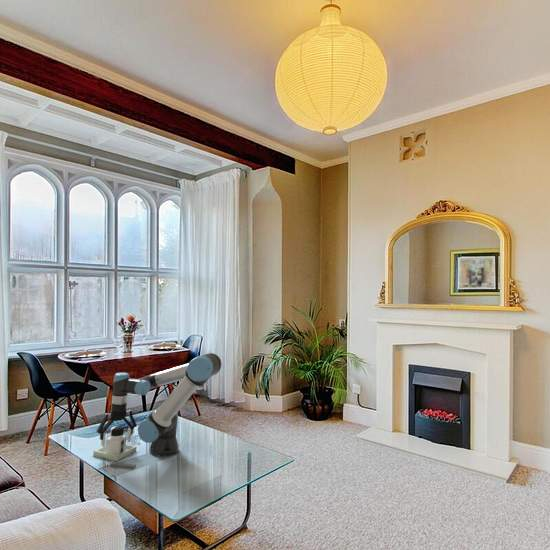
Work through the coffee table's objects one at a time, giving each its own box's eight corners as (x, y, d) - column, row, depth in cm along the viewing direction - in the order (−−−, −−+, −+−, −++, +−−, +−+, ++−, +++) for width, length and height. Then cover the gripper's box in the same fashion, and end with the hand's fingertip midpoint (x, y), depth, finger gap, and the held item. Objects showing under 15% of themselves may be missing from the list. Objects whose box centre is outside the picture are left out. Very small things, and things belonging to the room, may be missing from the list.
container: (125, 450, 219) (127, 425, 219) (118, 455, 211) (120, 430, 212) (111, 448, 220) (114, 424, 220) (104, 454, 212) (106, 429, 213)
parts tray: (136, 451, 220) (136, 446, 220) (116, 461, 206) (117, 456, 206) (113, 445, 225) (113, 441, 225) (93, 455, 211) (93, 450, 211)
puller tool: (135, 467, 201) (136, 464, 201) (133, 469, 199) (133, 466, 199) (112, 464, 202) (112, 461, 202) (109, 466, 200) (110, 463, 200)
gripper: (139, 398, 227) (136, 436, 227) (92, 403, 211) (88, 445, 210) (144, 401, 222) (141, 441, 221) (97, 407, 205) (93, 450, 205)
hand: (115, 443), depth 216 cm, fingers open, 13 cm apart
